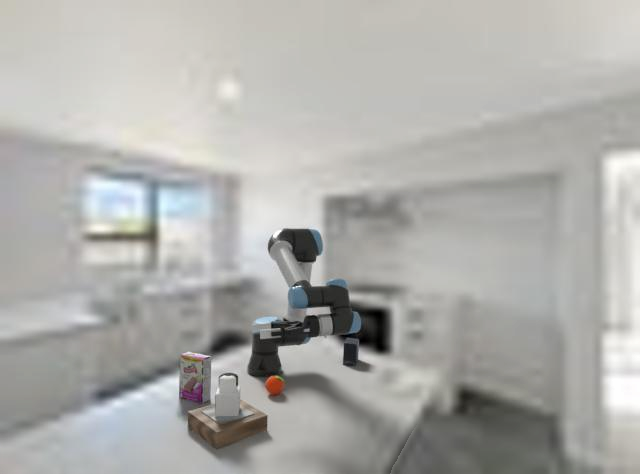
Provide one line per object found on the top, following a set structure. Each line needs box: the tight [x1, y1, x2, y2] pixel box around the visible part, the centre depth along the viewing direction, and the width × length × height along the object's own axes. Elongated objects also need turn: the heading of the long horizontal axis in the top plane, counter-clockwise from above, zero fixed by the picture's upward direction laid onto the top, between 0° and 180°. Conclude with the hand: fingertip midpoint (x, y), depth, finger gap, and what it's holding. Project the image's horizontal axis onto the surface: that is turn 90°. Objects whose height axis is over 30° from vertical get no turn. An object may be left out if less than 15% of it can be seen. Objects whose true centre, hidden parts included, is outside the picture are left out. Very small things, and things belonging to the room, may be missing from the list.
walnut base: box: [187, 399, 269, 450], centre depth 138 cm, size 18×18×5 cm
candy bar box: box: [178, 351, 212, 404], centre depth 161 cm, size 11×5×16 cm, turn 65°
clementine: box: [265, 375, 286, 395], centre depth 168 cm, size 8×7×7 cm
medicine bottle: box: [214, 372, 241, 417], centre depth 138 cm, size 7×7×12 cm
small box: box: [342, 337, 360, 367], centre depth 210 cm, size 11×6×10 cm, turn 168°
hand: (255, 331), depth 143 cm, fingers open, 13 cm apart
